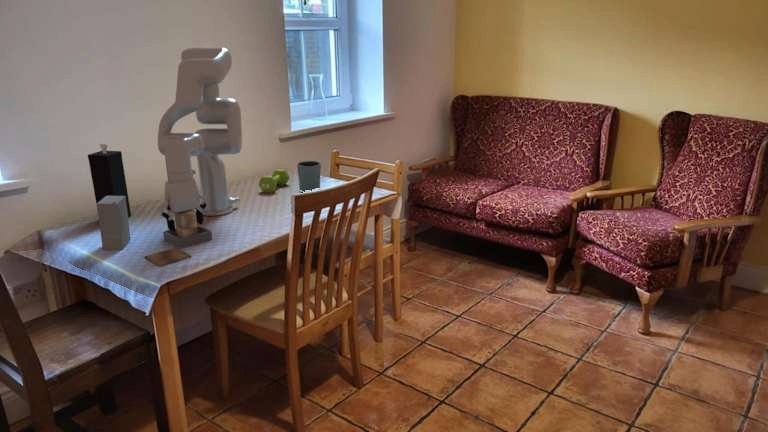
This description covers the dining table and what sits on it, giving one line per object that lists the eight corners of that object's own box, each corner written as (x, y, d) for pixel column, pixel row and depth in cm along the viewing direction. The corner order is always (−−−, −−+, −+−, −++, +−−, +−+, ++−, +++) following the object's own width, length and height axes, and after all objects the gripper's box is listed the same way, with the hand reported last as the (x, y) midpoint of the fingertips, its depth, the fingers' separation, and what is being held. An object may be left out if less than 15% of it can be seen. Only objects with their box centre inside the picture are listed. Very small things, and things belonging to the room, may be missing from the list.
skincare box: (111, 241, 188) (103, 195, 183) (133, 240, 188) (126, 194, 183) (101, 250, 180) (93, 202, 175) (125, 249, 180) (117, 202, 175)
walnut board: (175, 249, 180) (175, 247, 180) (191, 257, 174) (191, 255, 174) (144, 258, 174) (144, 256, 173) (159, 266, 167) (159, 264, 167)
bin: (195, 231, 196) (194, 223, 195) (212, 239, 189) (211, 230, 188) (164, 240, 188) (162, 231, 187) (180, 248, 181) (179, 239, 180)
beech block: (191, 236, 192) (187, 207, 189) (198, 239, 189) (195, 210, 185) (177, 240, 188) (173, 210, 185) (184, 243, 185) (181, 213, 182)
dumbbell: (274, 194, 241) (273, 177, 239) (257, 193, 243) (256, 176, 241) (291, 184, 256) (290, 168, 254) (275, 183, 258) (274, 167, 256)
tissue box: (118, 222, 206) (105, 146, 198) (99, 221, 208) (85, 145, 199) (131, 216, 214) (119, 142, 205) (112, 215, 215) (100, 141, 206)
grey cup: (302, 187, 250) (300, 160, 247) (324, 187, 249) (323, 160, 245) (295, 193, 241) (294, 165, 237) (319, 194, 240) (317, 166, 236)
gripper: (198, 170, 190) (204, 218, 195) (148, 179, 178) (155, 231, 183) (210, 173, 185) (215, 223, 190) (159, 183, 173) (166, 236, 178)
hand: (186, 227), depth 187 cm, fingers open, 9 cm apart
